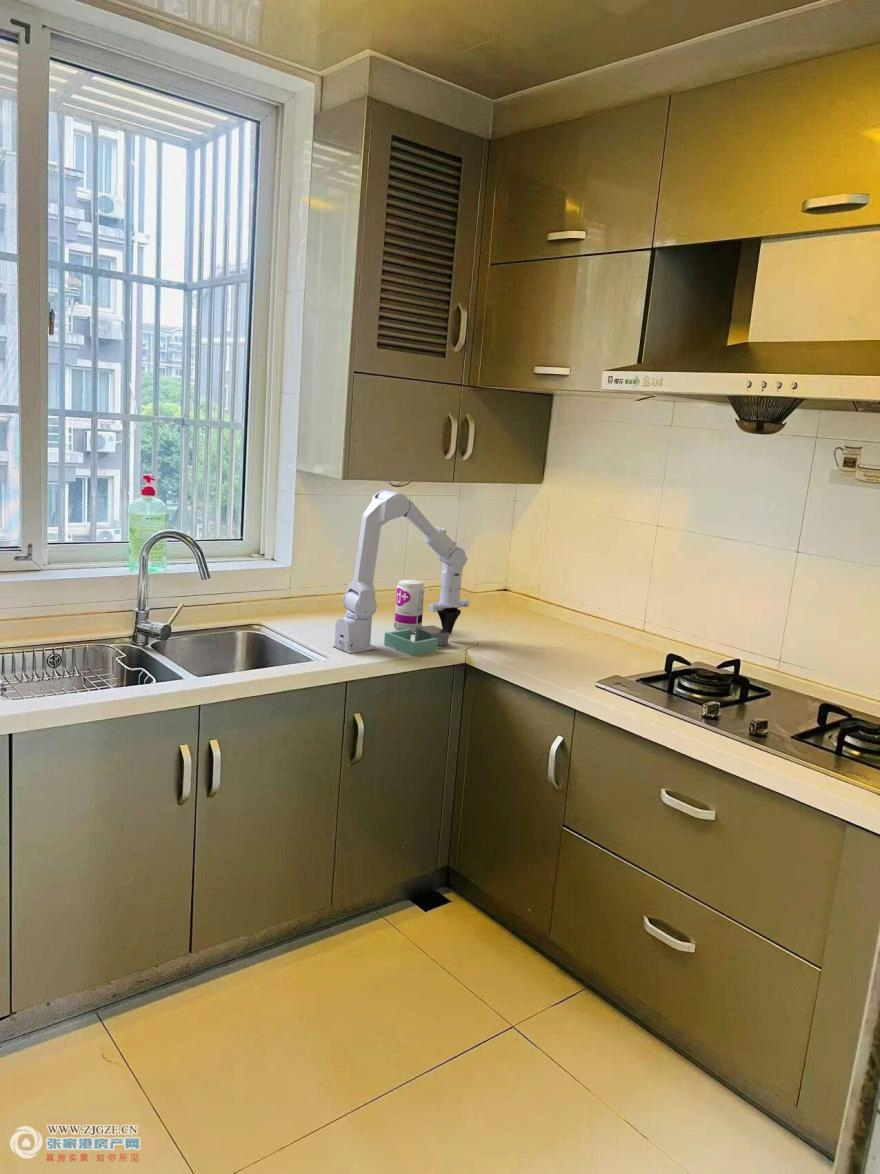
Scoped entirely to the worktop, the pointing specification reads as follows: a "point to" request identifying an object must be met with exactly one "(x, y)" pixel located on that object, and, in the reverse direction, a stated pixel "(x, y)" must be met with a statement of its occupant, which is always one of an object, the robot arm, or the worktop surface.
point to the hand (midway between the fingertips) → (447, 633)
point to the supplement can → (409, 604)
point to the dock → (409, 642)
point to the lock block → (432, 634)
